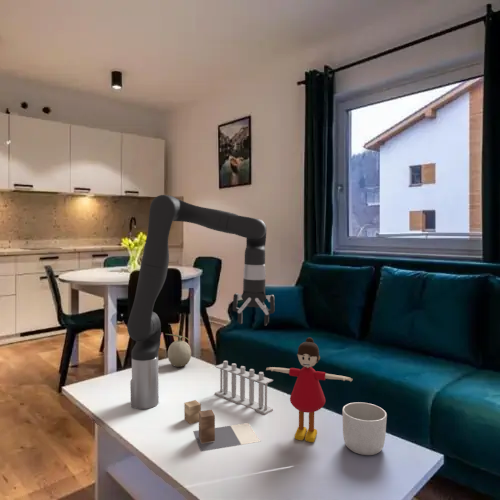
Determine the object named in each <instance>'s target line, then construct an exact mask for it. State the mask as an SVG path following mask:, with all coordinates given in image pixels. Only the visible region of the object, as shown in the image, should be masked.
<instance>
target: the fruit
mask: <svg viewBox="0 0 500 500" xmlns="http://www.w3.org/2000/svg"><path fill="white" fill-rule="evenodd" d="M165 335H166V336H173V337H177V338H178V340H175V341H173V342H172V343H170V345H169V347H168V350H167V357H168V358H167V359H168V361H169V363H170V364H171V365H172V366H174V367H175V368H182V367H184V366H185V367H186V366H187V365H188V364H189V362H190V360H191V357H192V349H191V346H190V345H189V343H187V341H188V342H190V339H189V338H188V337H186V336H183V335H179V334H171V333H170V334H169V333H165ZM182 338H185V339H186V340H187V341H184V340H182Z"/></svg>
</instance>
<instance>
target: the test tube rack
mask: <svg viewBox="0 0 500 500" xmlns="http://www.w3.org/2000/svg"><path fill="white" fill-rule="evenodd" d="M214 367H215V368H216V369H219V371H220V372H219V373H220V375H219V376H220V377H219V378H220V382H219V384H220V387H219V390H218V391H215V392H214V395H216V396H218V397H220V398H222V397H223V399H225V400H227V399H228V401H231V402H232V401H233V402H232V403H235V404H237V405H239V406H241V405H242V406H244V407H248V408H250V409H253V410H254V411H255V412H257V413H259V414H262V415H267V414H270V413H271V412H273V411H274V408H272V407H269V406H268V384H269V383H272V382H273V381H274V379H272V378H268V377H266V376H265V374H264V371H259V372H258V374H256V373H255V369H254V368H250V369H249V371H246V366H244V365H241V366H240V368H238V367H237V363H231V365H229V361H228V360H223V362H222V363H220V364H217V365H215V366H214ZM229 373H231V391H229ZM237 376H239V378H240V379H239V380H240V381H239V383H240V384H239V390H240V391H239V392H240V393H239V394H237ZM246 379H248V381H249V382H248V383H249V386H248V387H249V392H248V396H249V397H248V398H247V397H246ZM255 382H257V383H258V402H257V401H255Z"/></svg>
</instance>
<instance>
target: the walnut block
mask: <svg viewBox="0 0 500 500" xmlns="http://www.w3.org/2000/svg"><path fill="white" fill-rule="evenodd" d="M215 415H216V414H215V413H214V411H213V409H207V410H201V411H199V422H198V430H199V439H200V441H201V444H203V443H209V442H215V428H216V425H215V424H216V422H215V421H216V416H215Z"/></svg>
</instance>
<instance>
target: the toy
mask: <svg viewBox="0 0 500 500" xmlns="http://www.w3.org/2000/svg"><path fill="white" fill-rule="evenodd" d="M296 356H297V360H298V361H299V363H300V365H301V366H302V368H301V369H300V368H295V367H290V368H286V367H275V366H274V367H273V366H272V367H271V366H269V367H266V369H265V371H271V372H277V373H279V372H280V373H283V374H288V375H289V376H290V377H295V378H296V377H297V378H296V380H295V383H294V386H293V389H292V392H291V394H290V396H289V400H290V404H291V405H292V406H293V407H294V408H295V409H296V410H297V411H298V426H297V429H296V431H295V434H294V439H295V440H298V441H305V442H308V443H314V442H315V440H316V439H317V438H316V437H317V434H318V429H316V428H315V412H317V411H320V410H321V409H323V407H324V406H325V404H326V397H325V394H324V391H323V389H322V386H321V383H320V381H326V379H327V380H339V381H340V380H341V381H343V382H345V381H349V382H353V378H351V377H349V376H344V375H340V374H339V375H337V374H332V373H327V372H325V371H318V370H317V371H316V370H315V369H314V368H313V367H314V366H315V365H316V364H318V363H319V361H320V359H321V356H320V350H319V346H318V345H317V344H316V343H315V342H314V339H313V338H312V336H311V337H307V338H306V339H305V341H304V342H302V343H300V345H299V346H298V348H297V354H296ZM305 413H306V414H308V429H307V427H305V426H304V425H305V424H304V423H305Z"/></svg>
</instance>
